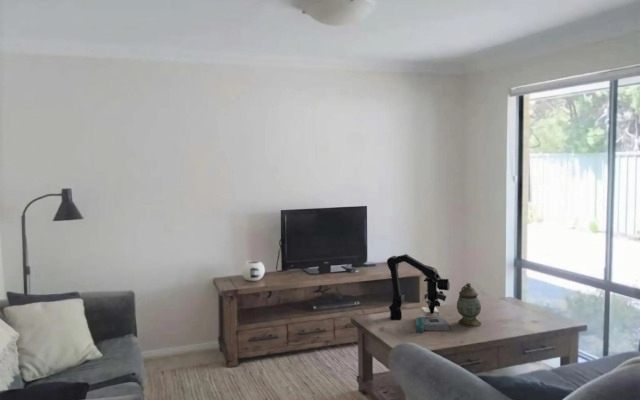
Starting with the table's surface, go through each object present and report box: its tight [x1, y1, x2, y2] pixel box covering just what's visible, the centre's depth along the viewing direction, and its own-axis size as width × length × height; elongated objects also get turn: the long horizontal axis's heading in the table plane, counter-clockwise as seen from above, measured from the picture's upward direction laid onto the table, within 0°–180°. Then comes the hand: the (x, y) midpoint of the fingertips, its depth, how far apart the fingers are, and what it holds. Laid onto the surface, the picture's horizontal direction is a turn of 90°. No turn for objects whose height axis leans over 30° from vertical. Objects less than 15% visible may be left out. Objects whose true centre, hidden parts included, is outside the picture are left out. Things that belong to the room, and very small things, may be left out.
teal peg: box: [415, 316, 424, 334], centre depth 288 cm, size 4×4×8 cm
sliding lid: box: [420, 306, 440, 317], centre depth 308 cm, size 9×9×3 cm
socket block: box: [420, 316, 449, 331], centre depth 297 cm, size 14×14×4 cm
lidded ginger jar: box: [456, 282, 482, 328], centre depth 300 cm, size 14×14×25 cm
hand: (432, 313), depth 303 cm, fingers closed
